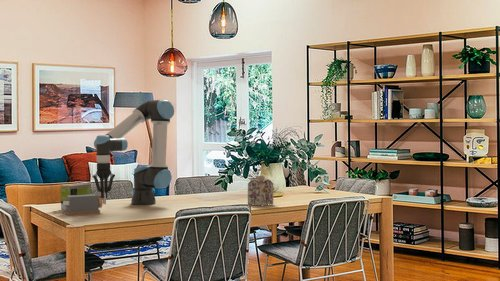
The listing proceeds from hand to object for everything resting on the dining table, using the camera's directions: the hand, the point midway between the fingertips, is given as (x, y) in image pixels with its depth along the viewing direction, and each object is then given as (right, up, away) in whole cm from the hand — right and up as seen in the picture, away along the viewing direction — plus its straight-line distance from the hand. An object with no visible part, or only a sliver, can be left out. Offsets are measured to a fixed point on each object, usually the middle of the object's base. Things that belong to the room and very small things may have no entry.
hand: (104, 203), depth 383 cm
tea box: (-19, -5, +12) cm, 23 cm away
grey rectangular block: (-11, -2, -6) cm, 13 cm away
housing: (-11, -5, -6) cm, 13 cm away
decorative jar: (+89, -4, +34) cm, 96 cm away
